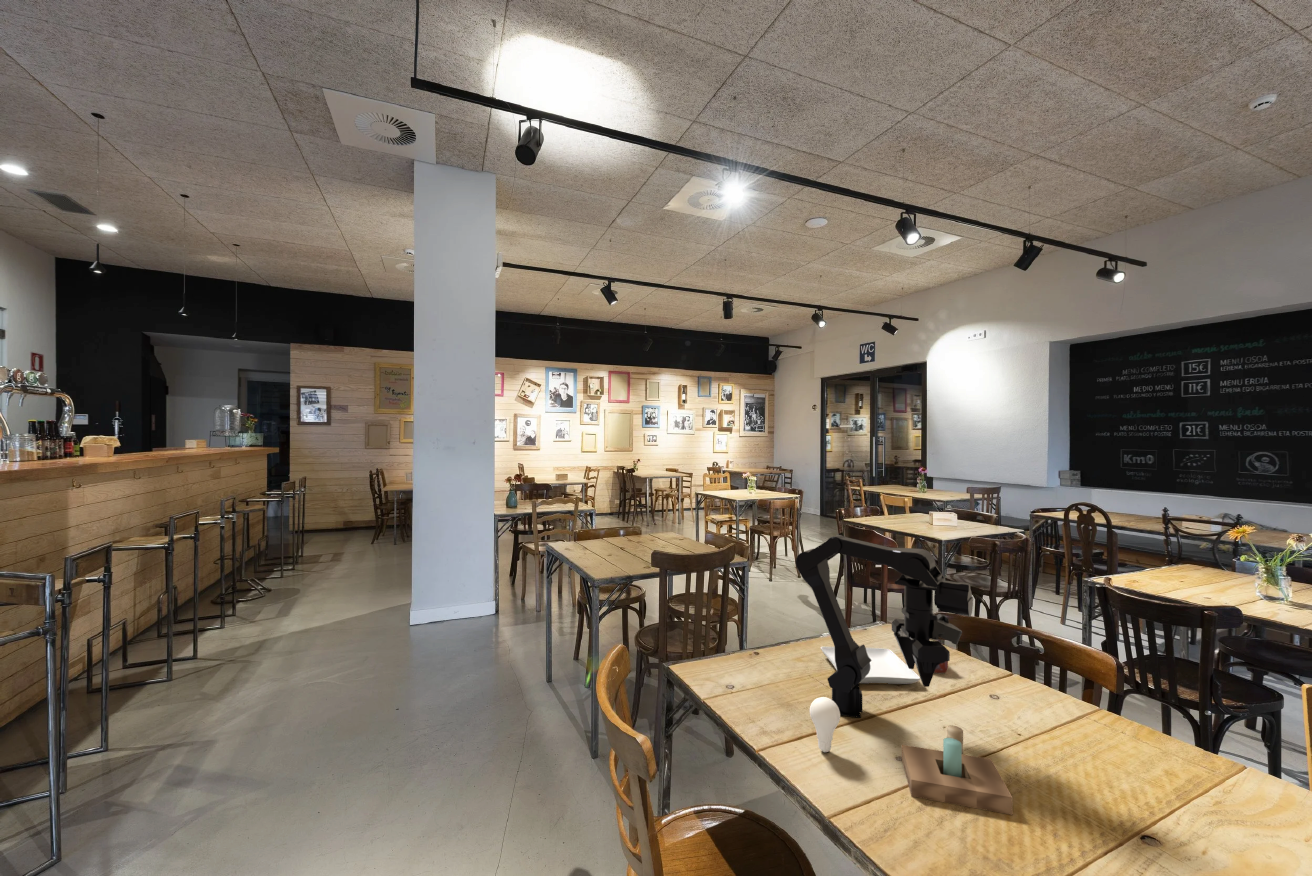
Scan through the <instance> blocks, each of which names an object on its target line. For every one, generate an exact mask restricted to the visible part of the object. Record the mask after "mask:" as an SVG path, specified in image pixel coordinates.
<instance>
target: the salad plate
mask: <svg viewBox="0 0 1312 876" xmlns="http://www.w3.org/2000/svg"><path fill="white" fill-rule="evenodd" d="M865 648H866V652H867V655H868V656H869V658H870V659H871V662H870V671H869V674H868V675H867V676H866V677H865V678H864V679H863V680H862V681H861V682H860V683H859V684H869V683H888V684H887V685H909V684H914V683H917V682H919V681H920V680H921V678H920V675H919V674H917V673H916V672H915V671H914V669H909V668H908V666H907V663H906V662H904V661H903V660H902V659H901V658H900V656H898V654H896V653H895V652H893V651H892V650H891V649H890V648H883V647H882V648H881V647H880V648H879V647H865ZM820 651H821V652H822V653H823V655H825V657H826V659H828V661H829V662H830V663H831V664H832V666H833V667H834V668H835V670H836V671H837V668H836V663H835V647H834V646H820Z"/></svg>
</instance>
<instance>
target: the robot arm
mask: <svg viewBox="0 0 1312 876" xmlns="http://www.w3.org/2000/svg"><path fill="white" fill-rule="evenodd" d="M838 554H840V555H845V556H849V557H854V558H856V559H861V560H865V561H868V562H873V563H876V564H880V565H885V566H887V567H889V568H891V569H893V570H894V571H896V572H898V573H900V574H901V575H900V577H899V578H898V579H897V580H895V581H894V584H895V585H898V586H904V602H903V603H904V607H901V613H902V614H903V615H904V616H903V617H904V618H895V619H894V620H892V621H891V631H892V632H893V636H894V637H895V640H896V642H897V644H898V647H899V649H900V651H901V653H902V656H903V659H904V661H905V664H906V665H907V666H908V668H909V669H912V670H914V669H915V667H916V669H917V671H918V676H919V677H920V680H921V684H922V686H923V687H925V688H929V687H930V685H931V683H932V679H933V676H934V674H935V673H934V672H935V669H936V667H937V666H938V665H939V664H941V663H945V662H946V661H948V662H950V658H951V657H950V656H951V655H950V654H951V653H950V651H949V649H948V648H947V647H945V646H944V645H943V643H941V642H940V641H939V638H941V639H943V640H946V641H948V642H950V643H951V644H953V645H956V646H957V645H958V643H959V642H960V638H961V636H962V634H963V631H962V630H961V629H960V628H958V627H957V626H956V625H954V624H952V623H950V621H949V618H948V617H947V616H946V615H944V614H941V613H938V614H935V613H934V605H935V606H936V609H939V611H940V612H942V613H948V614H954V615H959V616H963V617H971V616H972V614H973V608H974V607H973V606H974V605H973V604H974V597H973V594H972V590H971V583H969V582H965V581H963V582H959V581H951V580H950V581H949V580H946V577H945V576H944V575H943V574H942V572H941V571H940V570H939V567H937V565H936V560H935V558H934V556H933V555H932V553H931V552H930V551H928V550H927V549H922V548H910V547H890V546H886V545H881V544H876V543H872V542H868V541H863V540H859V539H856V538H851V537H846V536H844V535H842V534H837V535H833V536H830V537H829V538H828V539H827V540H826V541H824V542H823V543H820V544H819V545H817V546H816V547H815V548H810V549H808V550H805V551H802V552H800V553H798V555H797V556H796V559H795V561H794V562H795V567H796V569H797V571H798V573H799V574H800V576H801V578H802V579H803V581H804V582H805V583H806V584H807V585H808V586H809V587H810V588H811V590H812V593H813V595H814V597H815V600H816V603H817V605H818V608H819V611H820V612H821V615H822V618H823V621H824V622H825V625H826V627H827V630H828V633H829V636H830V638H831V641H832V643H833V645H834V646H833V647H835V663H836V668H837V670H836V671H834V672H833V673H832V674H831V675H830V676H828V677H827V682H828V686H829V688H831V700H832V701H834V702H835V703H836V705H837V706H838V708H839V711H840V716H845V717H851V718H856V719H857V718H858V719H860V718H861V716H862V715H861V713H862V712H863V692H862V690H861V689H860V684H861V683H860V682H861V681H862V680H863V679H864V678H865V677H866V676H867V675H868V674H869V671H870V662H871V659H870V658H869V656H868V655H867V652H866V648H867V647H866V646H865V644H861V645H859V644H858V643H857V642H856V641H855V640H854V638H853V637H852V633H851V632H850V628H849V626H848V623H847V621H846V620H845V619H846V618H845V617H844V614H843V612H842V608H841V607H840V605H839V602H838V599H837V597H836V596H837V595H836V594H835V592H834V589H833V587H832V584H831V581H830V580H831V579H830V578H831V576H830V566H829V561H830V560H831V559H833V558H835V557H836V556H837V555H838ZM929 640H930V641H929ZM836 668H835V669H836Z"/></svg>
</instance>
